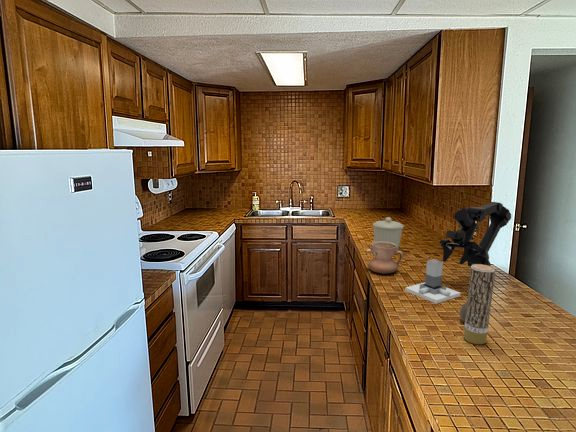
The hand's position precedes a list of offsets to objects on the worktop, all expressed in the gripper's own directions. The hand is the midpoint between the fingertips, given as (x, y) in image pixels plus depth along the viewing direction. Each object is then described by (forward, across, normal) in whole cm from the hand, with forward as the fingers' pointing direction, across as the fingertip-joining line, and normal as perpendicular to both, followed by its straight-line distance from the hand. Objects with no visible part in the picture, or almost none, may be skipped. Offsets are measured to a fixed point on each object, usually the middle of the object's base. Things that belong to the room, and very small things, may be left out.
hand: (451, 262), depth 166 cm
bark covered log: (+31, +34, -10) cm, 47 cm away
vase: (+24, +24, -4) cm, 34 cm away
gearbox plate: (+16, -2, 0) cm, 16 cm away
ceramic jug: (+12, -34, -4) cm, 36 cm away
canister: (-6, -64, +13) cm, 65 cm away
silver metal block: (+15, -2, -1) cm, 15 cm away
